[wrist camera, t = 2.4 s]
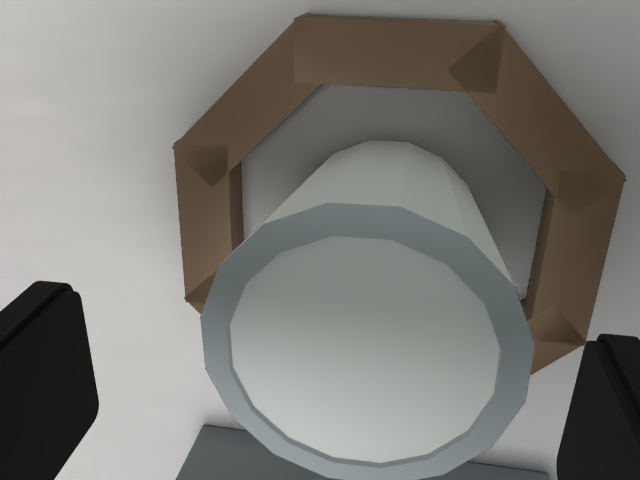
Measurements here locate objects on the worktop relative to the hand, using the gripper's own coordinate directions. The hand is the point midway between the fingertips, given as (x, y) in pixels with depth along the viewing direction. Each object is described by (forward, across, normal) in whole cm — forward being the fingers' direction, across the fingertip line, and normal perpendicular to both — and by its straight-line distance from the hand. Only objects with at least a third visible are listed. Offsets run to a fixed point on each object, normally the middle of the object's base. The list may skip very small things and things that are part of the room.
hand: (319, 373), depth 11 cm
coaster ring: (+8, -1, +1) cm, 8 cm away
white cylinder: (+8, -1, +1) cm, 8 cm away
